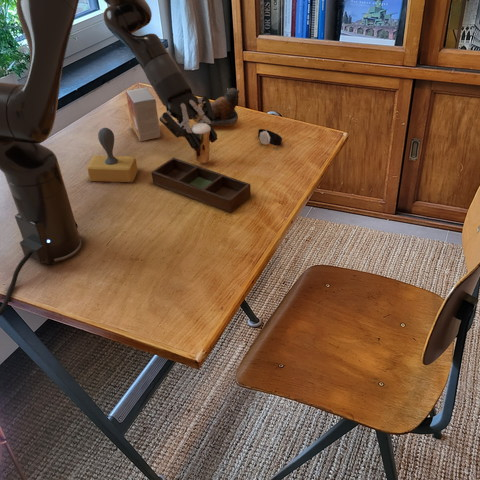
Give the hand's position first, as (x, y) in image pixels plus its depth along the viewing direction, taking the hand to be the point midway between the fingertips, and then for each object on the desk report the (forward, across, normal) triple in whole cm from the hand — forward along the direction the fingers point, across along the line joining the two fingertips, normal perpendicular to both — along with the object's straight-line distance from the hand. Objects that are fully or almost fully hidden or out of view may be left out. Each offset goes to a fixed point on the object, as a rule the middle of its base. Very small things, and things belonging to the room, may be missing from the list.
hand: (206, 144), depth 135 cm
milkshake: (+2, 0, +5) cm, 5 cm away
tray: (+9, -8, -1) cm, 12 cm away
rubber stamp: (-5, -18, +13) cm, 23 cm away
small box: (-13, 0, +21) cm, 25 cm away
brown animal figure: (-6, +16, +14) cm, 22 cm away
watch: (+6, +18, +2) cm, 19 cm away
